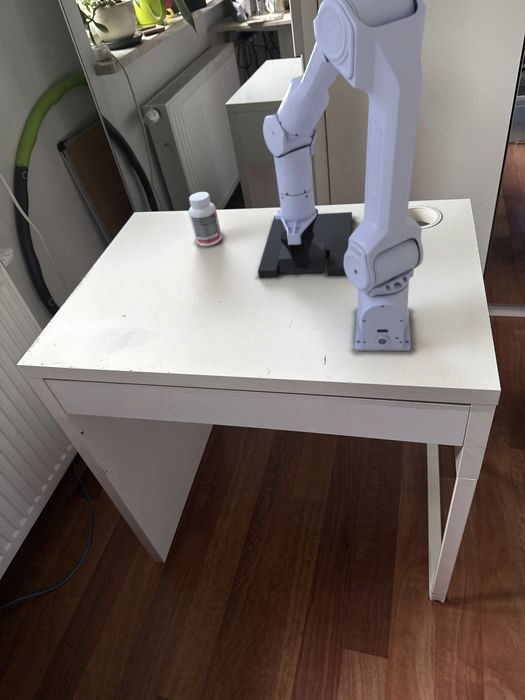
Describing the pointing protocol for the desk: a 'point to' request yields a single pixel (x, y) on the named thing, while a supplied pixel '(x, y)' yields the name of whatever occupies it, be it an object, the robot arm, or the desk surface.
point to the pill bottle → (204, 219)
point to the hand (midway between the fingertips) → (303, 258)
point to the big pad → (326, 230)
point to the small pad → (314, 264)
